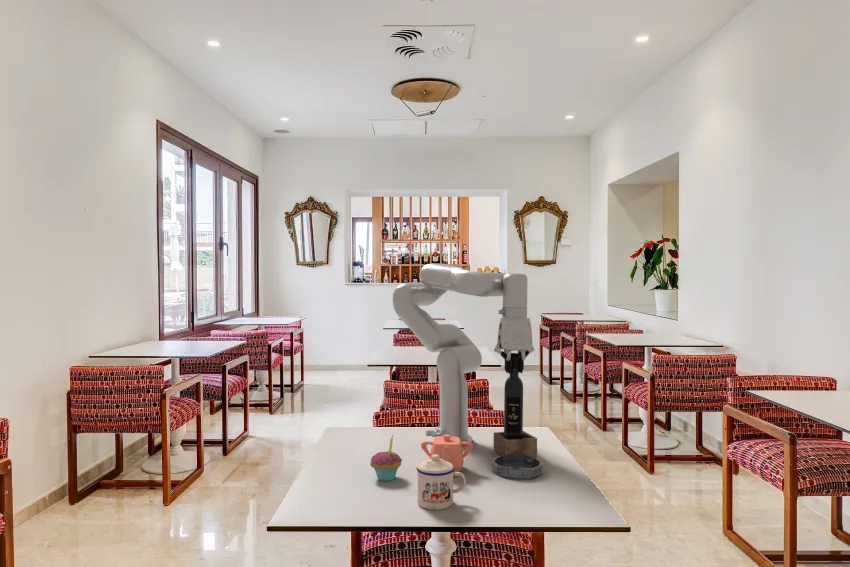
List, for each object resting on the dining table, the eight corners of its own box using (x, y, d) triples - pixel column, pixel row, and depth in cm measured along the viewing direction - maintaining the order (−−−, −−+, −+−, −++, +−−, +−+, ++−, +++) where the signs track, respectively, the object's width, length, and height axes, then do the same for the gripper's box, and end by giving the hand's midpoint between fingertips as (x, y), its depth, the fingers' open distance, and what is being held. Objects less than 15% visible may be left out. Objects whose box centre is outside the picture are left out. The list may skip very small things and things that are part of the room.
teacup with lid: (418, 511, 134) (418, 461, 134) (414, 497, 143) (414, 450, 143) (469, 509, 135) (469, 460, 135) (462, 494, 144) (462, 448, 144)
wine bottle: (522, 453, 175) (523, 355, 174) (503, 452, 176) (504, 354, 175) (522, 447, 180) (523, 352, 180) (504, 446, 181) (505, 351, 181)
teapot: (415, 467, 165) (415, 432, 165) (447, 460, 172) (447, 426, 172) (445, 482, 154) (445, 444, 154) (479, 473, 161) (479, 437, 161)
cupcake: (406, 474, 159) (406, 431, 159) (394, 485, 151) (394, 439, 151) (377, 471, 162) (377, 429, 162) (364, 481, 154) (364, 436, 154)
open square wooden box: (506, 461, 172) (506, 441, 171) (493, 451, 181) (493, 432, 181) (537, 458, 174) (537, 438, 174) (522, 448, 184) (522, 430, 184)
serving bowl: (504, 481, 154) (504, 472, 154) (484, 465, 167) (484, 456, 167) (551, 476, 158) (551, 467, 158) (528, 461, 171) (528, 452, 171)
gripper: (495, 314, 172) (494, 375, 172) (544, 313, 176) (543, 373, 177) (485, 312, 179) (484, 371, 179) (533, 312, 184) (532, 369, 184)
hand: (514, 372), depth 178 cm, fingers closed on wine bottle, 3 cm apart
